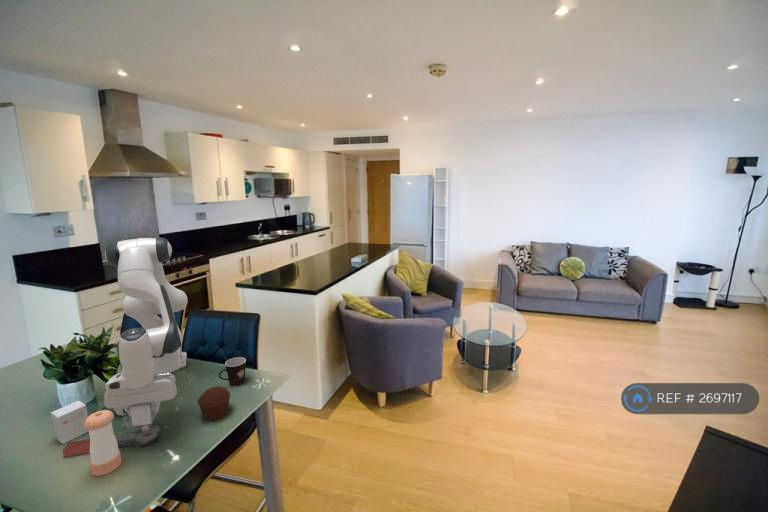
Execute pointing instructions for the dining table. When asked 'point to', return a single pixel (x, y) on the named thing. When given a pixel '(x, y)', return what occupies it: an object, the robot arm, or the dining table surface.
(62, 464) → the dining table surface
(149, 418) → the light grey cube
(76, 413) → the small box
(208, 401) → the muffin
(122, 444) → the ratchet
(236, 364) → the coffee mug
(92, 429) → the pepper shaker
